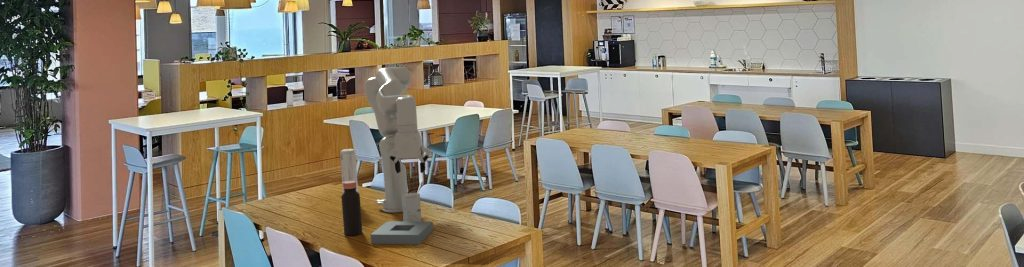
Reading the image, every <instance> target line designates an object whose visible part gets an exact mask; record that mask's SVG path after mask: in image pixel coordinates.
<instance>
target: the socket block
mask: <svg viewBox="0 0 1024 267" xmlns="http://www.w3.org/2000/svg"><path fill="white" fill-rule="evenodd" d="M432 232H434V221H428V220H427V221H425V220H424V221H422V220H421V221H403V220H402V221H398V220H397V221H396V220H395V221H394V220H390V221H389V220H388V221H386V222H385V223H383V224H382V225H380V226H379V227H378V228H377V229H376V230H374V231H373V232H372V233H371V234H370V244H371V245H420V244H422V242H423V241H424V240H425V239H426V238H427V237H428V236H430V235H431V234H432Z"/></svg>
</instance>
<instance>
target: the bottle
mask: <svg viewBox="0 0 1024 267" xmlns="http://www.w3.org/2000/svg"><path fill="white" fill-rule="evenodd" d="M343 188H344V193H343V192H342V194H341V197H340V198H341V208H342V209H341V210H342V224H343V233H344V235H345V236H348V237H355V236H360V235H361V234H363V224H362V223H363V221H362V210H361V208H362V207H361V197H360V196H361V195H360V193H359V191H358V192H357V191H356V181H345V182H343V185H342V189H343Z"/></svg>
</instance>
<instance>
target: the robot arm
mask: <svg viewBox="0 0 1024 267" xmlns="http://www.w3.org/2000/svg"><path fill="white" fill-rule="evenodd" d="M411 82H412V76H411V72H410V70H409V68H407V67H406V66H391V67H382V68H380V69H378V70H377V71H376V74H375V76H373V77H370V78H368V79H367V80H366V81H365V83H364V94H365V97H366V98H365V99H366V100H367V102H368V104H369V105H370V107H371V109H372V110H373V113H374V116H375V120H376V124H377V129H378V132H379V133H380V135H381V136H382V139H380V141H379V144H378V146H379V151H380V155H381V156H380V157H381V160H382V169H383V170H382V171H383V172H382V173H383V184H384V194H385V195H384V196H385V199H376V204H377V206H382V208H381V209H382V212H384V213H394V214H395V213H403V206H402V194H407V193H408V191H409V190H408V180H407V179H408V178H407V168H406V165H405V163H403V162H402V160H403V159H405V160H406V159H409V160H410V159H417V160H419V161H420V163H419V169H420V174H423V173H424V172H425V170H426V161H427V160H428V159H429V158H430V156H431V153H432V150H431V149H430V148H429V149H428V148H427V147H424V146H423V142H422V141H423V140H422V137H421V133H420V131H419V130H418V117H417V114H418V113H417V102H416V101H417V100H416V98H415V97H414V96H413V95H411V94H405V92H407V90H408V88H409V86H410V84H411ZM424 153H425V154H426V155H425V156H424V155H423V154H424ZM401 159H402V160H401Z"/></svg>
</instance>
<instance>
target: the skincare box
mask: <svg viewBox="0 0 1024 267" xmlns="http://www.w3.org/2000/svg"><path fill="white" fill-rule="evenodd" d="M420 195H421V194H420V193H418V192H409V193H407V194H402V206H403V212H402V216H403V217H402V221H422V212H421V196H420Z"/></svg>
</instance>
